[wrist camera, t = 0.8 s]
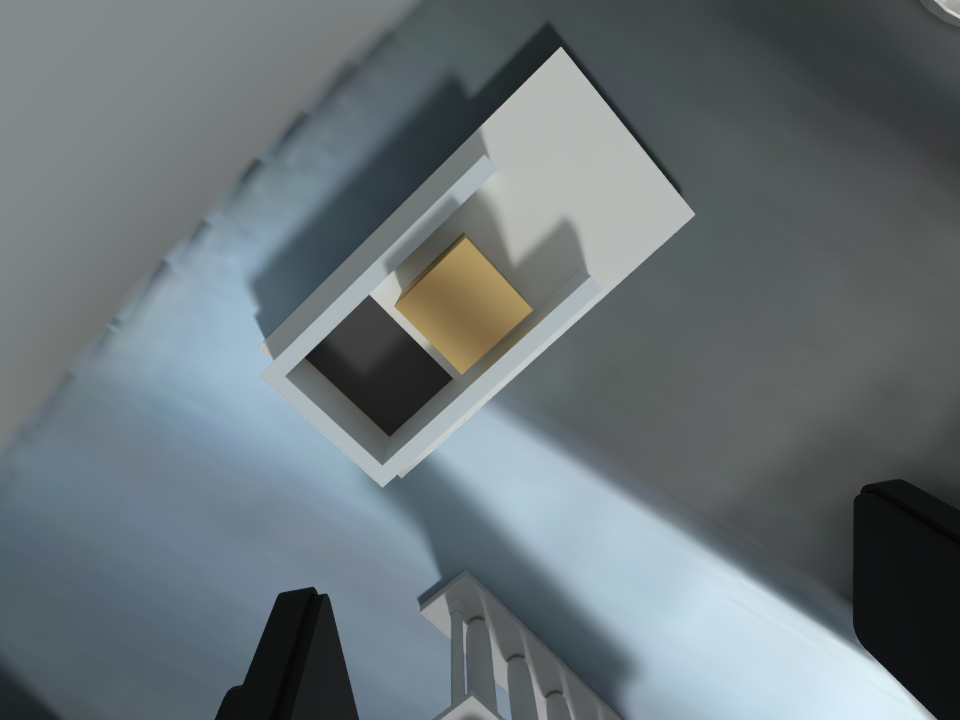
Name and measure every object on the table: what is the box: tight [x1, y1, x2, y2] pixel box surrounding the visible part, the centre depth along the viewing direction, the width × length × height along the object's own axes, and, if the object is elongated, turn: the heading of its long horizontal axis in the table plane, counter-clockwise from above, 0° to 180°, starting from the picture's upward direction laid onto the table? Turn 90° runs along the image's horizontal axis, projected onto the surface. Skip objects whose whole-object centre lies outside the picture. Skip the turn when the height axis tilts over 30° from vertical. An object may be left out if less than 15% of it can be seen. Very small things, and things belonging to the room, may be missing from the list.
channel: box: [258, 47, 695, 488], centre depth 34 cm, size 24×12×4 cm, turn 133°
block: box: [394, 232, 533, 374], centre depth 33 cm, size 5×5×5 cm
